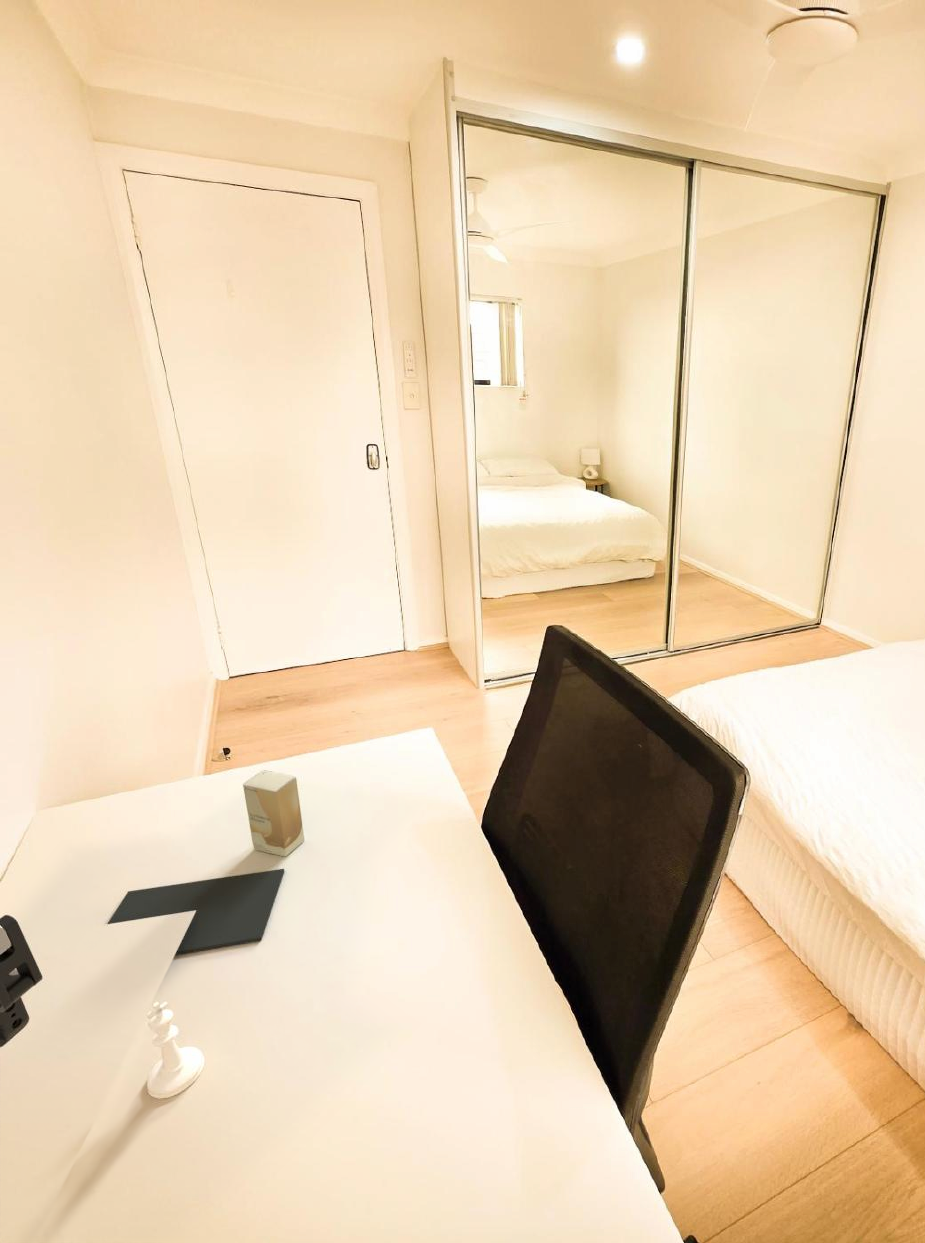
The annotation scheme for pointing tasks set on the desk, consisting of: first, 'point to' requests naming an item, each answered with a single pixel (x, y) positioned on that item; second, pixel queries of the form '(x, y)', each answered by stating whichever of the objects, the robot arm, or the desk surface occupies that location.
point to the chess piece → (171, 1057)
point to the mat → (210, 908)
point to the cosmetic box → (274, 812)
